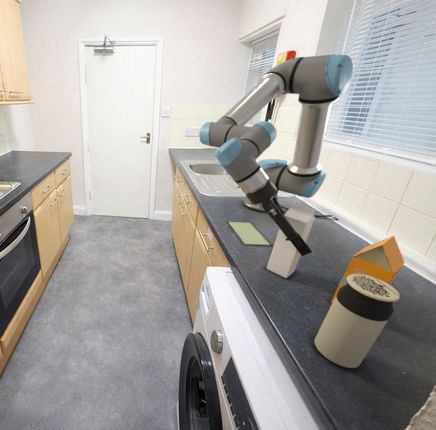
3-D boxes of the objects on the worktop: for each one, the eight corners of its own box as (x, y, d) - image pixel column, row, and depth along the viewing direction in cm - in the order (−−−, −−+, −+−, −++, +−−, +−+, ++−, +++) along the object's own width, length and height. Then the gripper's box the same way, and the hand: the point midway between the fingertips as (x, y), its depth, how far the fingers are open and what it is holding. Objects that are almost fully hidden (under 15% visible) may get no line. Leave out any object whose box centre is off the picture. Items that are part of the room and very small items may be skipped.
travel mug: (325, 365, 54) (363, 297, 46) (307, 333, 61) (336, 270, 53) (369, 372, 53) (415, 304, 45) (345, 339, 60) (381, 275, 52)
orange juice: (378, 307, 69) (417, 242, 61) (366, 321, 65) (406, 253, 56) (342, 290, 75) (373, 228, 67) (329, 301, 71) (360, 237, 62)
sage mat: (249, 223, 113) (249, 222, 113) (270, 245, 97) (270, 244, 96) (228, 222, 113) (228, 221, 113) (245, 244, 97) (245, 243, 97)
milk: (286, 278, 79) (311, 212, 70) (265, 268, 84) (287, 205, 74) (294, 271, 83) (319, 207, 73) (274, 262, 87) (296, 200, 78)
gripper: (242, 183, 87) (283, 235, 89) (247, 206, 69) (298, 271, 71) (264, 169, 83) (306, 224, 85) (275, 190, 65) (328, 259, 67)
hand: (302, 245), depth 78 cm, fingers open, 8 cm apart
